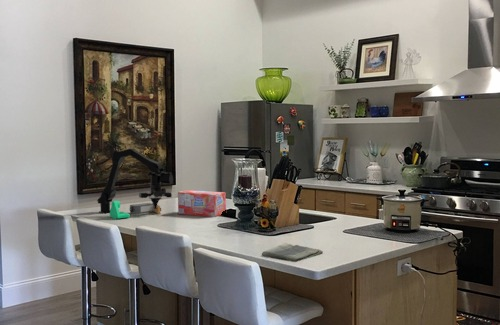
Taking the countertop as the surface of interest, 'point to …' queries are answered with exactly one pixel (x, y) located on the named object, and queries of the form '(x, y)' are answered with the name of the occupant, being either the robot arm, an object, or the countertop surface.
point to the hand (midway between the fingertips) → (155, 209)
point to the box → (201, 203)
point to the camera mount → (117, 211)
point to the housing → (141, 208)
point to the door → (157, 209)
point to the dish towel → (291, 252)
